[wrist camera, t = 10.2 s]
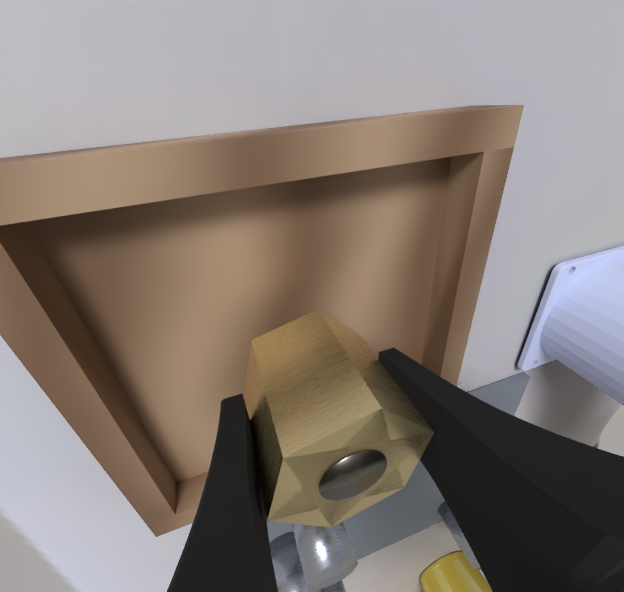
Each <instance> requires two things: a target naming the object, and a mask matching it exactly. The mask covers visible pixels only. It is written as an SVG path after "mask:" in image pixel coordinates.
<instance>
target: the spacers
mask: <svg viewBox="0 0 624 592" xmlns="http://www.w3.org/2000/svg"><path fill="white" fill-rule="evenodd" d="M438 513H439V514H440V516H441V517H442V519H443V521H444V522H445V524H446V526H447V527H448V529H449V530H450V532H451V534H452V535H453V537H454V539H455V540H456V542H457V543H458V545H459V547H460V548H461V550H462V552H463V553H464V555H465V556H466V558H467V560H468V561H469V563H470V564H471V566H472V568H473V569H474V570H479V569H481V567H480V565H479V563H478V561H477V559H476V557H475V556H474V554H473V552H472V550H471V548H470V546H469V544H468V542H467V540H466V538H465V536H464V534H463V533H462V531H461V529H460V527H459V525H458V523H457V521H456V520H455V518H454V516H453V514H452V512H451V510H450V509H449V507H448V505H447V503H446V501H444V502H443V503H442V504H441V505H440V506H439V508H438ZM292 528H293V531H292V532H288V533H285V534H282V535H280V536H278V537H277V538H275V539H274V540H272V541H271V542H270V543H269V544H270V550H271V557H272V562H273V567H274V572H275V577H276V582H277V587H278V592H346V591H345V588H344V585H343V582H342V579H344V578H345V577H346V576H348V575H349V574H350V573H351V572H352V571H353V570H354V569H355V568H356V566H357V563H358V562H357V559H356V556H355V554H354V551H353V548H352V546H351V543H350V540H349V538H348V535H347V532H346V529H345V527H344V524H343V521H342V522H341V523H339V524H337V525H335V526H333V527H322V526H312V525H301V524H292Z"/></svg>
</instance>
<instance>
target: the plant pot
mask: <svg viewBox="0 0 624 592" xmlns="http://www.w3.org/2000/svg"><path fill="white" fill-rule="evenodd" d="M420 583H421V586H422V589H423V592H493V591H492V589H491V587H490V585H489V583H488V581H487V580H486V579H485V577H484V576H483V575H482V574H481V573H480V571H479V570H474V569H473V568H472V566H471V564H470V563H469V561H468V560H467V558H466V556H465V555H464V553H463V552H461V551H457V552H453V553H450V554H448V555H446V556H444V557H442V558H440V559H438V560H437V561H435V562H434V563H432V564H431V565H430V566H429V567H427V568H426V569H425V570H424V572H423V573H422V574H421V576H420Z"/></svg>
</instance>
